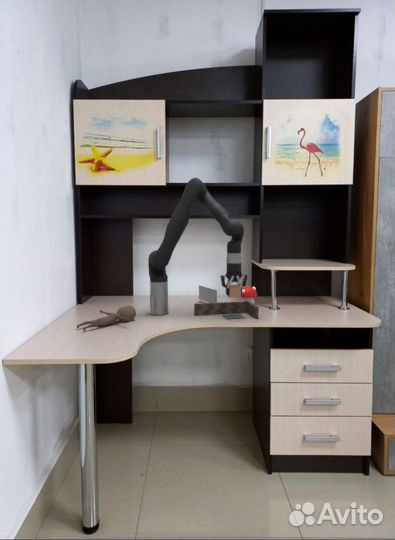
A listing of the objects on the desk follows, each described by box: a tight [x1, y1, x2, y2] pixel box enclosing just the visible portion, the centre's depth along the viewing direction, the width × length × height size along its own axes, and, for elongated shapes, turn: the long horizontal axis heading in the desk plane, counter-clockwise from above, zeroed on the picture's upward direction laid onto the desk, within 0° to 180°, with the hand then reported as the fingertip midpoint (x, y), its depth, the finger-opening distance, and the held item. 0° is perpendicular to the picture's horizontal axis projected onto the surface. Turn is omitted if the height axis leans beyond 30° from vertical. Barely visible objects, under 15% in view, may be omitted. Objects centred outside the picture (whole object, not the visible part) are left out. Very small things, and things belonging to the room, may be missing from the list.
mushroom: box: [240, 285, 258, 304], centre depth 236 cm, size 11×11×12 cm
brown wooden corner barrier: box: [193, 300, 260, 320], centre depth 214 cm, size 30×15×6 cm, turn 102°
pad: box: [222, 313, 246, 320], centre depth 214 cm, size 9×9×1 cm
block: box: [226, 284, 241, 299], centre depth 213 cm, size 6×6×6 cm
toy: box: [76, 305, 137, 332], centre depth 200 cm, size 26×8×30 cm
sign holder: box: [197, 284, 218, 303], centre depth 244 cm, size 21×2×10 cm, turn 29°
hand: (233, 294), depth 213 cm, fingers closed on block, 5 cm apart
